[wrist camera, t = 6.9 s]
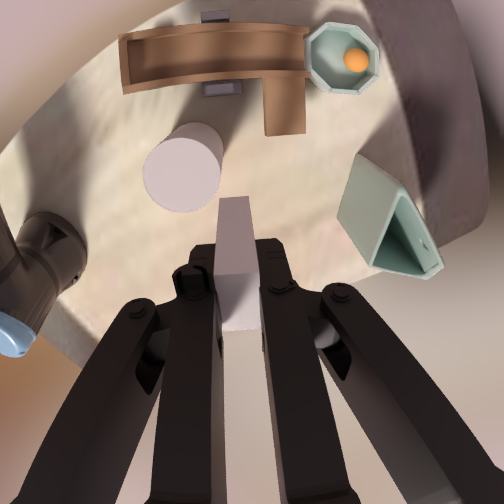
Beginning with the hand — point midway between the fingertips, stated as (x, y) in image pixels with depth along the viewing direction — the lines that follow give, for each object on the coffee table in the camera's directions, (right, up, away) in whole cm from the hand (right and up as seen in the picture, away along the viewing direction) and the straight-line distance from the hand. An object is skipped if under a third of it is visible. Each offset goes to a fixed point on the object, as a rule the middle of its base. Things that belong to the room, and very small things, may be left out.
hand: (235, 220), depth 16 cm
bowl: (+12, +25, +17) cm, 32 cm away
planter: (+18, +6, +29) cm, 35 cm away
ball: (+14, +23, +15) cm, 31 cm away
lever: (-3, +16, +12) cm, 20 cm away
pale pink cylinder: (-7, +12, +23) cm, 27 cm away
